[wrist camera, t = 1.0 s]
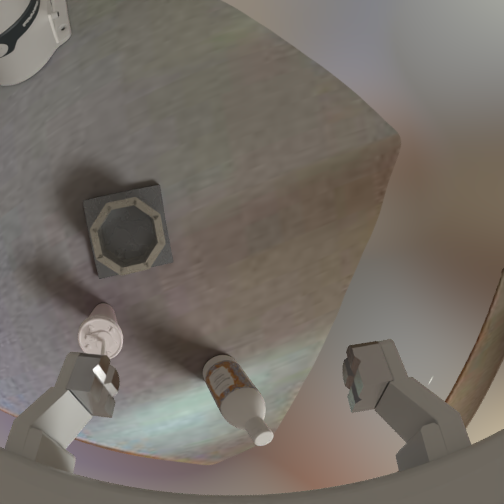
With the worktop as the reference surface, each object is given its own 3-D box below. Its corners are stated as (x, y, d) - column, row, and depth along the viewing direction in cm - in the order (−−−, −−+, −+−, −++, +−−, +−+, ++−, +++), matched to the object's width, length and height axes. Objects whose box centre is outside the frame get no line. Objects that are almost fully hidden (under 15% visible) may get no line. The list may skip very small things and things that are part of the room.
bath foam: (222, 346, 54) (270, 412, 36) (244, 368, 57) (295, 432, 38) (194, 370, 53) (229, 444, 34) (217, 390, 55) (259, 461, 37)
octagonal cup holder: (83, 200, 41) (76, 201, 35) (159, 184, 45) (163, 183, 39) (99, 277, 44) (95, 289, 38) (172, 260, 48) (178, 270, 42)
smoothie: (119, 335, 47) (120, 381, 34) (82, 327, 44) (71, 371, 31) (126, 300, 46) (127, 337, 33) (88, 290, 44) (75, 325, 31)
